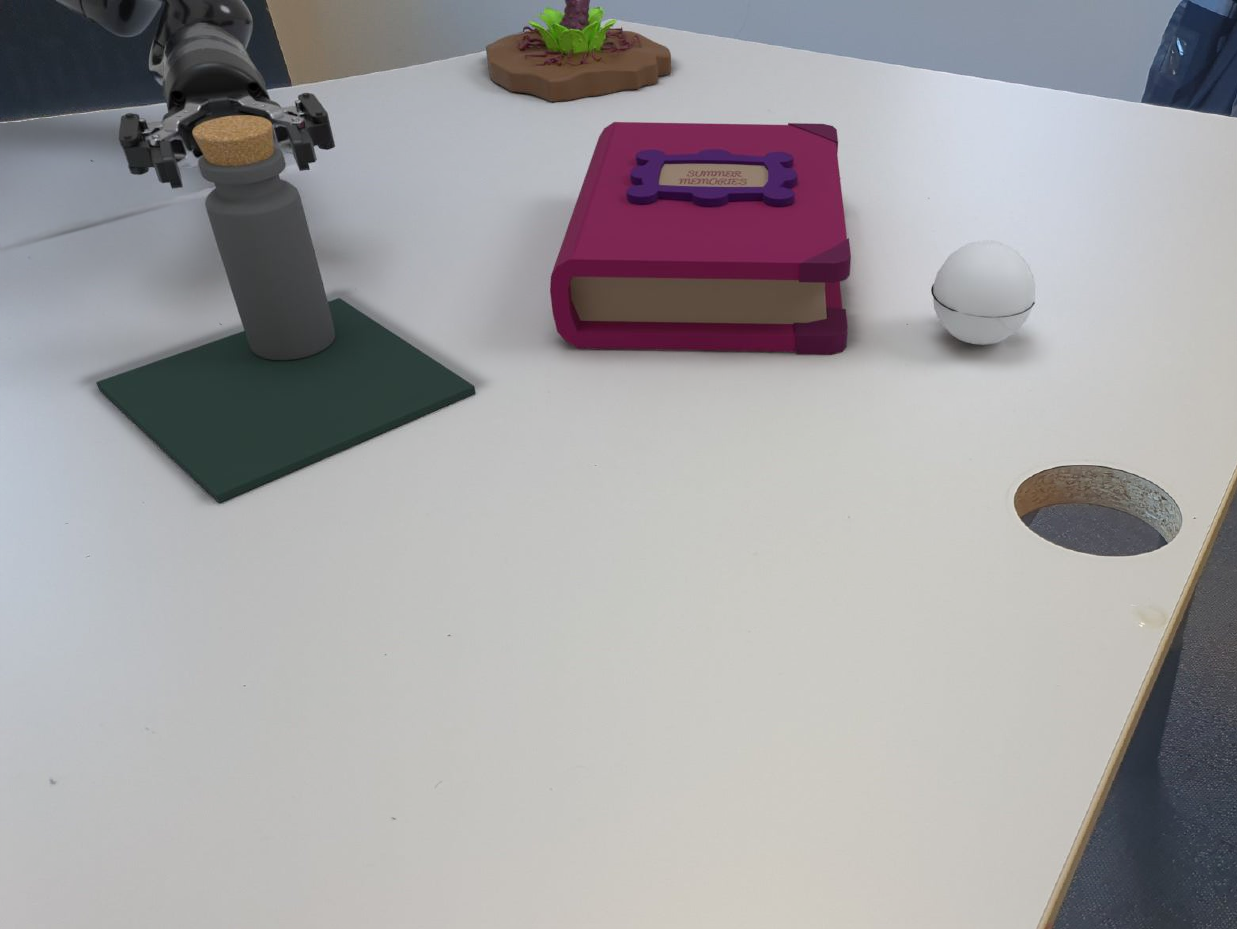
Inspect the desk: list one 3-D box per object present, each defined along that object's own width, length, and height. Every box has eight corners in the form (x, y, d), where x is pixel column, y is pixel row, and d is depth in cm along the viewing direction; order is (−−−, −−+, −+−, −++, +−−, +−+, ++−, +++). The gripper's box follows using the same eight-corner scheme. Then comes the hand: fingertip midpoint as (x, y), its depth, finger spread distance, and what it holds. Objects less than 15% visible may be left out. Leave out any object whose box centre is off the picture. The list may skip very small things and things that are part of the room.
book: (556, 350, 81) (544, 250, 76) (602, 198, 102) (595, 112, 97) (847, 354, 81) (854, 255, 76) (832, 202, 102) (837, 117, 97)
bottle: (353, 332, 81) (301, 119, 71) (296, 368, 77) (232, 148, 67) (290, 315, 83) (231, 106, 73) (231, 350, 79) (160, 133, 69)
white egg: (922, 314, 86) (932, 221, 81) (1018, 317, 86) (1035, 224, 81) (933, 381, 78) (945, 283, 74) (1039, 384, 78) (1058, 286, 74)
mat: (219, 503, 66) (216, 495, 66) (98, 389, 76) (95, 381, 75) (476, 393, 76) (474, 385, 76) (341, 304, 86) (339, 297, 85)
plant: (456, 67, 131) (440, -40, 124) (593, 38, 141) (586, -63, 134) (553, 111, 120) (541, -3, 113) (694, 76, 130) (692, -31, 123)
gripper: (320, 132, 95) (354, 202, 83) (136, 156, 90) (146, 233, 79) (298, 37, 90) (330, 97, 79) (102, 57, 85) (106, 124, 74)
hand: (238, 165), depth 79 cm, fingers open, 8 cm apart
